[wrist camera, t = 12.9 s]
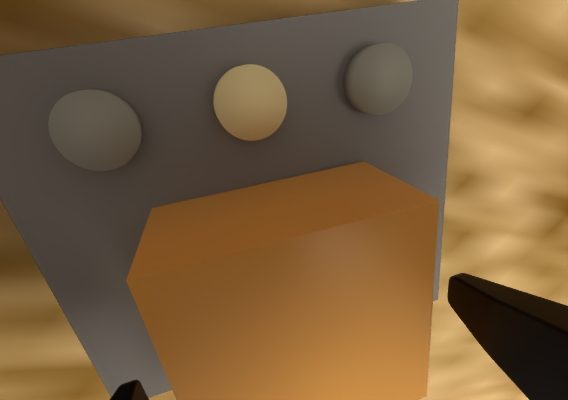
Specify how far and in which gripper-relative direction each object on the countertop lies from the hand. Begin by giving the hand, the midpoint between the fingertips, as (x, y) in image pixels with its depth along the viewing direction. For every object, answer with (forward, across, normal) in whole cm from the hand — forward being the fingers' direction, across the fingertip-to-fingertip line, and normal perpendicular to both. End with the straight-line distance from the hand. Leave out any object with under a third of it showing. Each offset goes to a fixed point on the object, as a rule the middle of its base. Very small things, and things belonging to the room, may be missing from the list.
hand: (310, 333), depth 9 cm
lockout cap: (+3, 0, 0) cm, 3 cm away
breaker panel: (+6, 0, -2) cm, 6 cm away
